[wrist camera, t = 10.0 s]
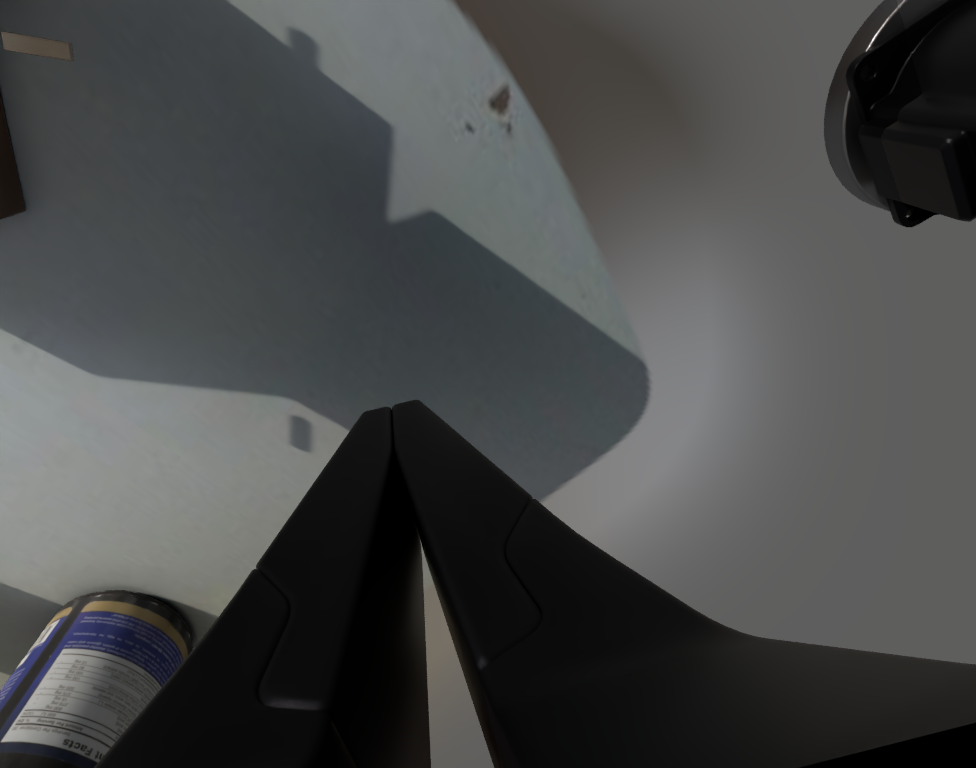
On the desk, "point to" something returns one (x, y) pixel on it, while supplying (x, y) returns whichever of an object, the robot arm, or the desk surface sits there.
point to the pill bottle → (88, 679)
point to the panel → (3, 184)
